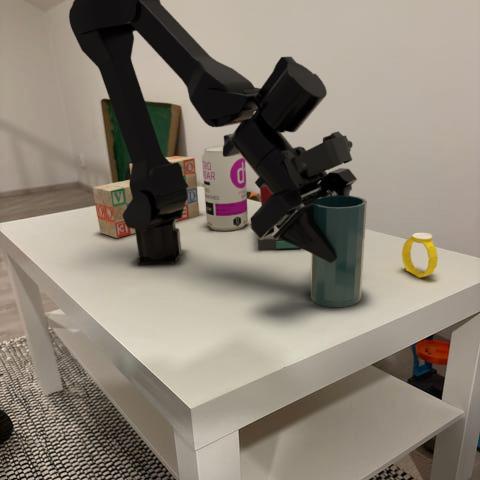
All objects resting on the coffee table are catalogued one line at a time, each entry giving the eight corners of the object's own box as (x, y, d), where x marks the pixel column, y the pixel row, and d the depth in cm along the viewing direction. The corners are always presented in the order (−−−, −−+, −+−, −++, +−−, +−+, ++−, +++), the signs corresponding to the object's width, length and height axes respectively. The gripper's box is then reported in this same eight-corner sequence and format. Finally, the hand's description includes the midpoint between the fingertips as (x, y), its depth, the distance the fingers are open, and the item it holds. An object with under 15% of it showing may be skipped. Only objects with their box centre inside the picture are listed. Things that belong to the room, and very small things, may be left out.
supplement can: (255, 222, 104) (252, 145, 97) (233, 233, 98) (228, 152, 91) (222, 218, 108) (217, 144, 101) (199, 229, 102) (192, 150, 95)
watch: (396, 269, 77) (399, 231, 74) (411, 266, 78) (415, 228, 75) (423, 282, 72) (428, 242, 69) (439, 279, 73) (444, 239, 70)
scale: (258, 251, 88) (258, 237, 87) (257, 233, 97) (257, 220, 96) (317, 248, 87) (317, 234, 86) (310, 231, 97) (310, 218, 96)
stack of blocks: (117, 239, 98) (106, 174, 93) (99, 233, 102) (88, 171, 97) (200, 214, 111) (195, 156, 106) (181, 210, 115) (176, 154, 110)
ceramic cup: (313, 308, 66) (315, 209, 60) (308, 288, 72) (309, 196, 66) (365, 306, 66) (371, 206, 60) (355, 286, 72) (360, 194, 66)
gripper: (269, 119, 54) (360, 234, 53) (346, 104, 67) (420, 196, 66) (216, 188, 62) (295, 289, 61) (294, 162, 75) (360, 245, 74)
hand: (346, 252), depth 65 cm, fingers closed on ceramic cup, 7 cm apart
